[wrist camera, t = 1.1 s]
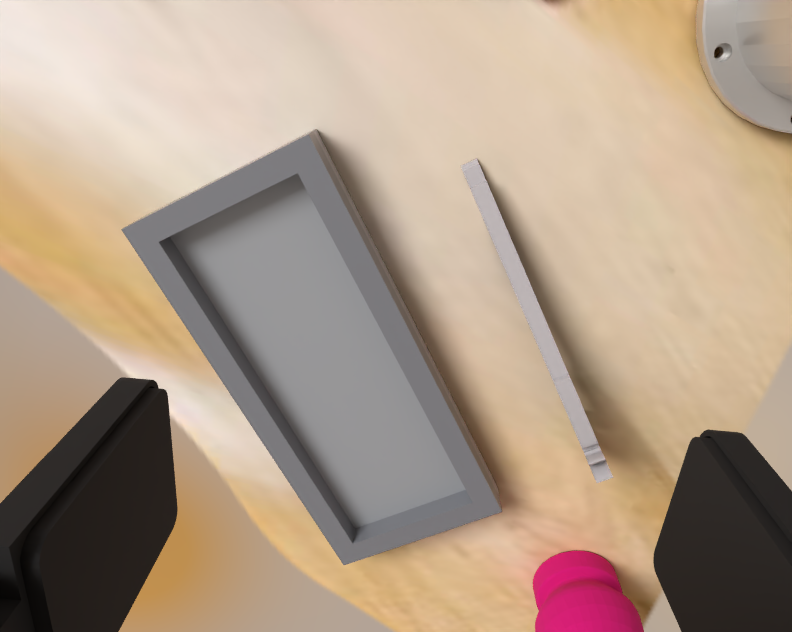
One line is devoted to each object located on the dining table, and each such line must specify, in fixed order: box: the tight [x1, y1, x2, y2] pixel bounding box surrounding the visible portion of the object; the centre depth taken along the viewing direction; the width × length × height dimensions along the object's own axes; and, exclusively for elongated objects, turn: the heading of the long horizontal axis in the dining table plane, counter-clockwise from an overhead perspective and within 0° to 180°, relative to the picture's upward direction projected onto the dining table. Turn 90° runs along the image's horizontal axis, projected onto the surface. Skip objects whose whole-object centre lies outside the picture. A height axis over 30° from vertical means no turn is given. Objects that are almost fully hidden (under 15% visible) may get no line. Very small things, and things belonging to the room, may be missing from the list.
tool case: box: [121, 129, 502, 565], centre depth 38 cm, size 12×27×2 cm, turn 26°
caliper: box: [461, 158, 613, 483], centre depth 35 cm, size 20×1×6 cm, turn 26°
